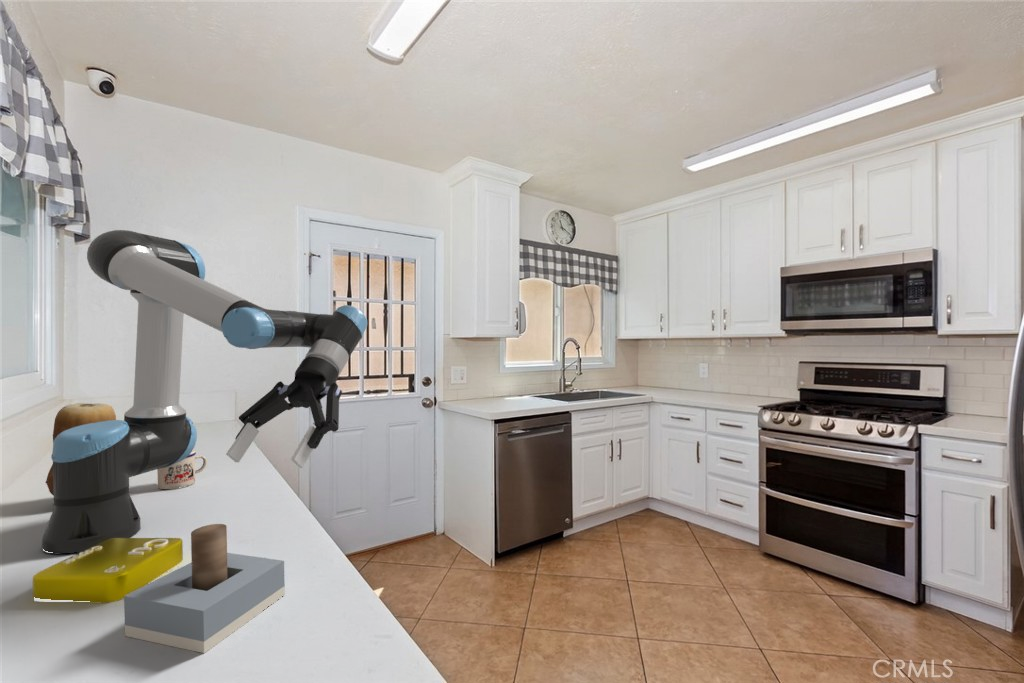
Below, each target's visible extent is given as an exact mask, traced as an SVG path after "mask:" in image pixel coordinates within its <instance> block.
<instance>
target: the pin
mask: <svg viewBox="0 0 1024 683" xmlns="http://www.w3.org/2000/svg"><path fill="white" fill-rule="evenodd" d="M227 528H228V527H227V524H224V523H213V524H212V523H211V524H208V525H207V524H206V525H203V526H200V527H198V528H195V529H194V530H192V531H191V533H190V541H191V542H190V544H191V545H190V548H191V549H190V550H191V562H192V589H198V590H204V591H208V590H210V589H212V588H213V587H215V586H217V585H218V584H220V583H222V582H224V581H225V580H227V579H228V574H227V553H228V541H227V540H228V536H227V534H228V533H227V532H228V529H227Z"/></svg>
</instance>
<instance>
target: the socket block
mask: <svg viewBox="0 0 1024 683" xmlns="http://www.w3.org/2000/svg"><path fill="white" fill-rule="evenodd" d="M227 574H228V579H227V580H225V581H224V582H222V583H220V584H218V585H217V586H215V587H213V588H212V589H210V590H208V591H204V590H198V589H192V561H191V562H190V563H188V564H186V565H183V566H181V567H179V568H177V569H176V570H173V571H172V572H169V573H168V574H165V575H164V576H161V577H160V578H159V577H158V578H156V579H154V580H153V581H151V582H150V583H148V584H147V585H145V586H143V587H141V588H139V589H137V590H135V591H133V592H131V593H129V594H127V595H125V596H124V598H123V602H124V603H123V604H124V605H123V606H124V607H123V608H124V611H123V612H124V636H125V637H129V638H132V639H138V640H142V641H147V642H150V643H151V642H152V643H156V644H161V645H165V646H170V647H172V648H178V649H182V650H187V651H192V652H197V653H202V654H205V653H207V652H208V651H210V650H211V649H212V648H214V647H215V646H217V645H218V644H219V643H221V642H222V641H224V640H225V639H227V638H228V637H229V636H230V635H232V634H233V633H235V632H236V631H237V630H239V629H240V628H241V627H243V626H244V625H246V624H247V623H249V621H251V620H253V619H254V618H256V617H257V616H258V615H260V614H261V613H263V612H264V611H265V610H266V608H267V607H268V606H269V607H271V606H272V605H274V604H275V603H276V602H278V601H279V600H280V599H282V598H283V597H285V596H286V595H285V594H286V591H285V590H286V588H285V586H286V585H285V561H284V560H282V559H274V558H267V557H262V556H261V557H260V556H253V555H248V554H246V555H245V554H238V553H231V552H227ZM284 595H285V596H284ZM282 596H283V597H282ZM281 597H282V598H281ZM279 598H280V599H279ZM278 599H279V600H278ZM277 600H278V601H277ZM274 602H275V603H274ZM273 603H274V604H273ZM271 604H272V605H271ZM270 605H271V606H270ZM269 607H268V608H269ZM268 608H267V609H268ZM264 609H265V610H264ZM263 610H264V611H263ZM259 613H260V614H259Z"/></svg>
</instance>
